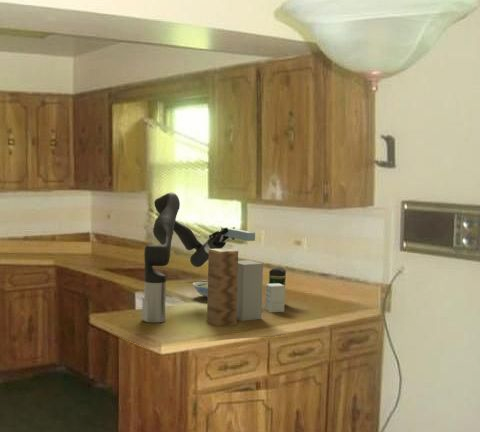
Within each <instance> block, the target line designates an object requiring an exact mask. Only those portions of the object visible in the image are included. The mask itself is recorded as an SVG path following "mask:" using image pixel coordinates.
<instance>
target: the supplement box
mask: <svg viewBox="0 0 480 432" xmlns="http://www.w3.org/2000/svg"><path fill="white" fill-rule="evenodd" d="M264 295H265V297H264V299H265V300H264V310H266V311H267V312H269V313H284V312H285V301H286V300H285V299H286V285H285V286H284V285H282V284H280V283H276V284H269V283H265V293H264Z"/></svg>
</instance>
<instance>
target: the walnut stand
mask: <svg viewBox="0 0 480 432" xmlns="http://www.w3.org/2000/svg"><path fill="white" fill-rule="evenodd" d="M207 261H208V268H207V269H208V270H207V280H208V298H207V303H206V304H207V305H206V306H207V307H206V308H207V309H206V323H207V324H208V323H209V324H211V325H213V326H215V327H226V326H227V327H228V326H237V319H236V315H237V279H238V261H239V250H236V249H231V248H224V247H223V248H222V249H209V259H208V260H207Z"/></svg>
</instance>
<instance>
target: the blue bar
mask: <svg viewBox="0 0 480 432" xmlns="http://www.w3.org/2000/svg"><path fill="white" fill-rule="evenodd" d="M225 228H228V232H227V233H226V234H225V235H224V236H227V237H232V238H235V239H239V240H242V241H247V242H254V241H256V232H253V231H249V230H248V231H247V230H245V229H244V230H243V229H238V228H235V229H233V227H225V226H224V227H223V226H222V227H220V231H221V230H223V229H225Z"/></svg>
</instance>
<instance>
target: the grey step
mask: <svg viewBox="0 0 480 432" xmlns="http://www.w3.org/2000/svg"><path fill="white" fill-rule="evenodd" d="M263 274H264V263H262V262H257V261H254V260H249V259H248V260H247V259H246V260H245V259H243V260H238V279H237V315H236V320H239V321H243V322H244V321H253V320H261V319H262V309H263V307H262V306H263V277H264V276H263Z"/></svg>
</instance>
